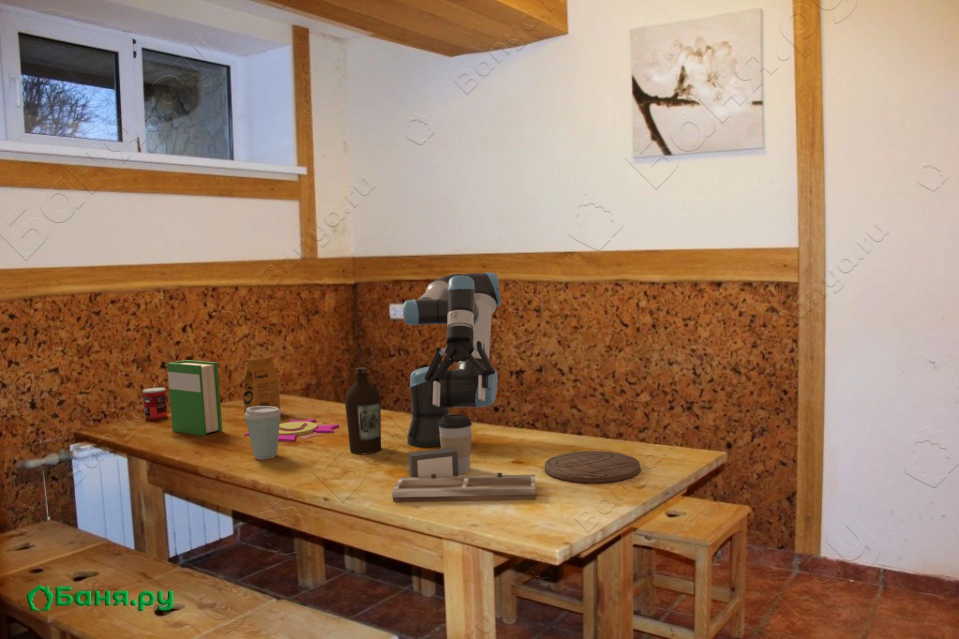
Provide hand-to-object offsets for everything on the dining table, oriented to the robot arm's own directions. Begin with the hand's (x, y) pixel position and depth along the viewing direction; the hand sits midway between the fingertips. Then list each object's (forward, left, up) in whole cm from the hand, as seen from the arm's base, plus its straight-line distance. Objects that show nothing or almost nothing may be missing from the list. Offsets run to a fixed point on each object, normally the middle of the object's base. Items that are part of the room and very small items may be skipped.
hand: (458, 403), depth 208 cm
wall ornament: (-49, -62, -19) cm, 81 cm away
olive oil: (-22, -31, -18) cm, 42 cm away
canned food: (-77, -124, -18) cm, 147 cm away
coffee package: (-76, -82, -18) cm, 113 cm away
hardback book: (-53, -97, -18) cm, 112 cm away
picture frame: (+11, -6, -18) cm, 22 cm away
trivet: (+3, +35, -19) cm, 40 cm away
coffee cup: (+1, -1, -18) cm, 18 cm away
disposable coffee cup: (-17, -60, -18) cm, 65 cm away
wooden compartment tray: (+21, +3, -18) cm, 28 cm away
